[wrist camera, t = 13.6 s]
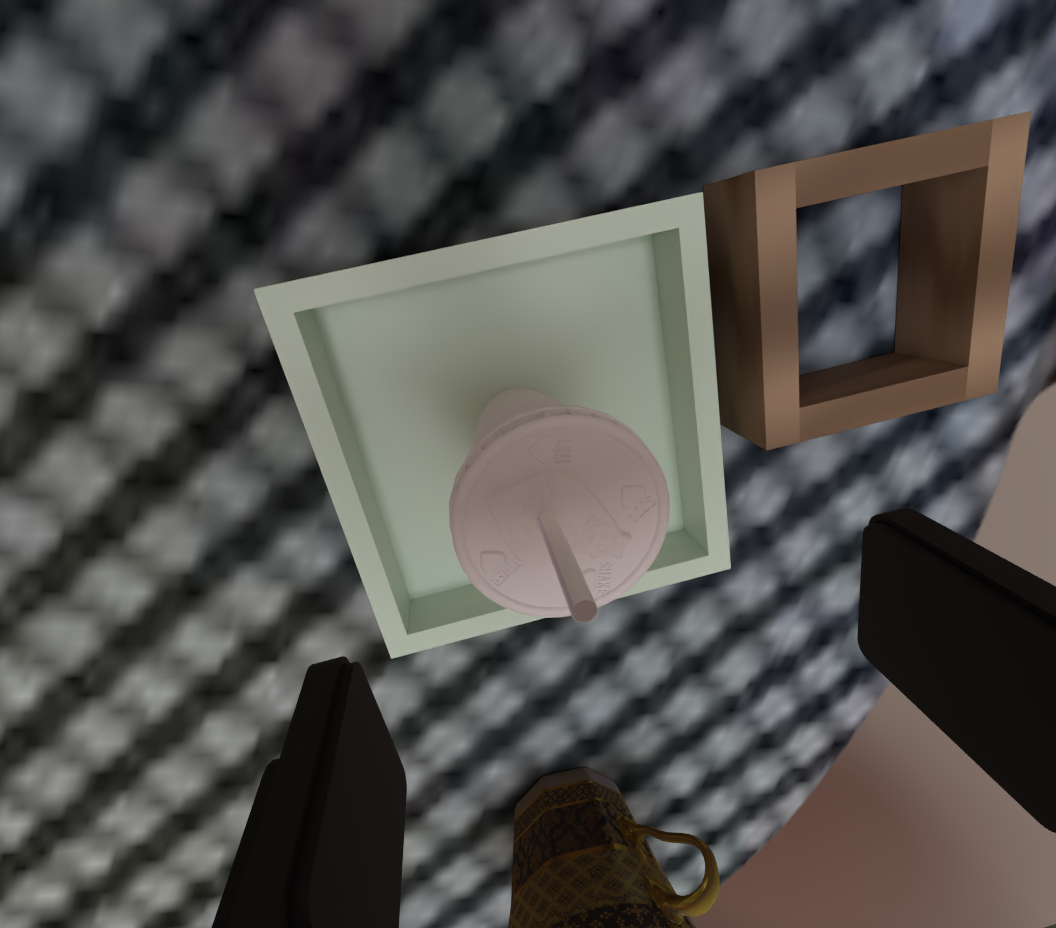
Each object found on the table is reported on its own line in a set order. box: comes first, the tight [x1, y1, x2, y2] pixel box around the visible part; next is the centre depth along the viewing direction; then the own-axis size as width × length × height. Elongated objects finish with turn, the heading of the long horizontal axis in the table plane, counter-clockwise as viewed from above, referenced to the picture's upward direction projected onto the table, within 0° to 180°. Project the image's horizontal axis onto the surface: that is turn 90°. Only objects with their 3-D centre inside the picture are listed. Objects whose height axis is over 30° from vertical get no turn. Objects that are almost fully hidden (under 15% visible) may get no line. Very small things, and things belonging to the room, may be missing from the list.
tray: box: [253, 192, 731, 659], centre depth 23 cm, size 16×16×4 cm
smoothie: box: [449, 388, 670, 623], centre depth 18 cm, size 6×6×14 cm
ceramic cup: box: [508, 767, 719, 928], centre depth 29 cm, size 13×10×10 cm
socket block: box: [703, 111, 1031, 450], centre depth 23 cm, size 11×11×4 cm
